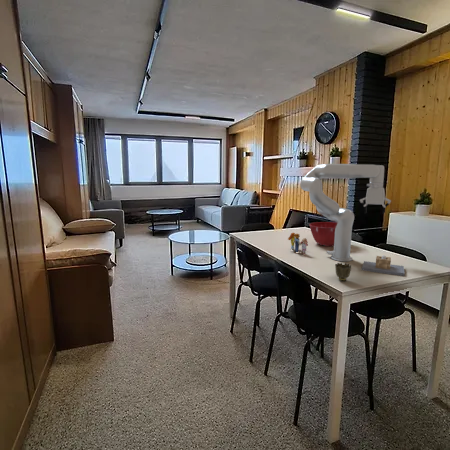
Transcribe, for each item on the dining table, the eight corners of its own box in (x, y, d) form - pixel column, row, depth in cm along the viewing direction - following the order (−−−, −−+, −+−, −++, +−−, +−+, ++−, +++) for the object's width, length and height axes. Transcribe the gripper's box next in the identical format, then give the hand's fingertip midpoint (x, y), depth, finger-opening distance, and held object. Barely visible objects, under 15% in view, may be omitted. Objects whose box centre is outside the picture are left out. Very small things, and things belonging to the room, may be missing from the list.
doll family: (308, 255, 189) (309, 235, 187) (294, 256, 188) (295, 236, 186) (296, 247, 210) (297, 230, 208) (284, 248, 209) (284, 230, 207)
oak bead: (375, 267, 159) (376, 258, 158) (376, 264, 165) (376, 255, 164) (389, 269, 155) (390, 260, 155) (390, 266, 161) (390, 257, 161)
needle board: (361, 270, 159) (362, 256, 158) (363, 263, 171) (364, 250, 170) (404, 276, 149) (405, 261, 148) (403, 268, 161) (404, 254, 160)
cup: (333, 281, 142) (334, 266, 141) (334, 277, 149) (335, 262, 147) (350, 283, 139) (351, 267, 138) (350, 279, 146) (351, 263, 144)
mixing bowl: (300, 244, 221) (301, 224, 219) (321, 238, 240) (322, 220, 237) (335, 251, 200) (337, 229, 198) (354, 244, 219) (356, 224, 216)
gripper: (359, 185, 179) (358, 213, 182) (392, 186, 170) (389, 215, 173) (361, 185, 185) (359, 212, 188) (392, 185, 176) (390, 213, 179)
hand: (374, 213), depth 180 cm, fingers open, 9 cm apart
